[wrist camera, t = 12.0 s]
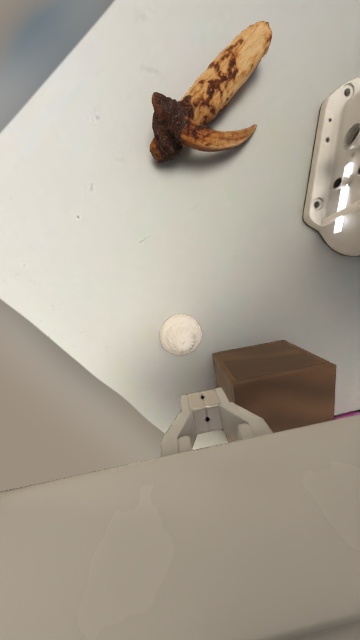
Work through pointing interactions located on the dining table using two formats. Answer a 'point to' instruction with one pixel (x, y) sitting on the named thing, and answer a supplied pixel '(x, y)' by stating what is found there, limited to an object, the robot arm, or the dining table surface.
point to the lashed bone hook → (209, 100)
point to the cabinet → (278, 384)
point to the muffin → (180, 334)
